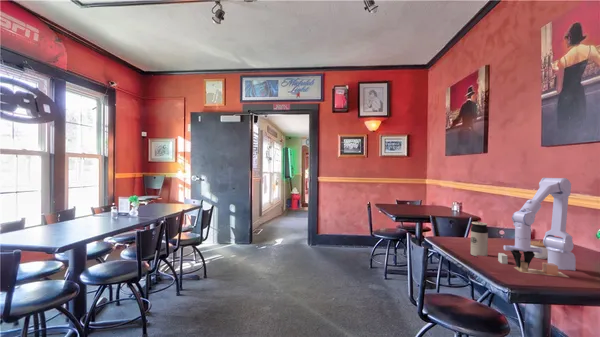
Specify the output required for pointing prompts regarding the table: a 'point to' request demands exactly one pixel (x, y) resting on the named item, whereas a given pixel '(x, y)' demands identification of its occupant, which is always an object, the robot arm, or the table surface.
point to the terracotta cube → (550, 268)
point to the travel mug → (479, 239)
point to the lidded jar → (540, 245)
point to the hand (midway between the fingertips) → (522, 267)
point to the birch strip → (534, 270)
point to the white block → (502, 258)
